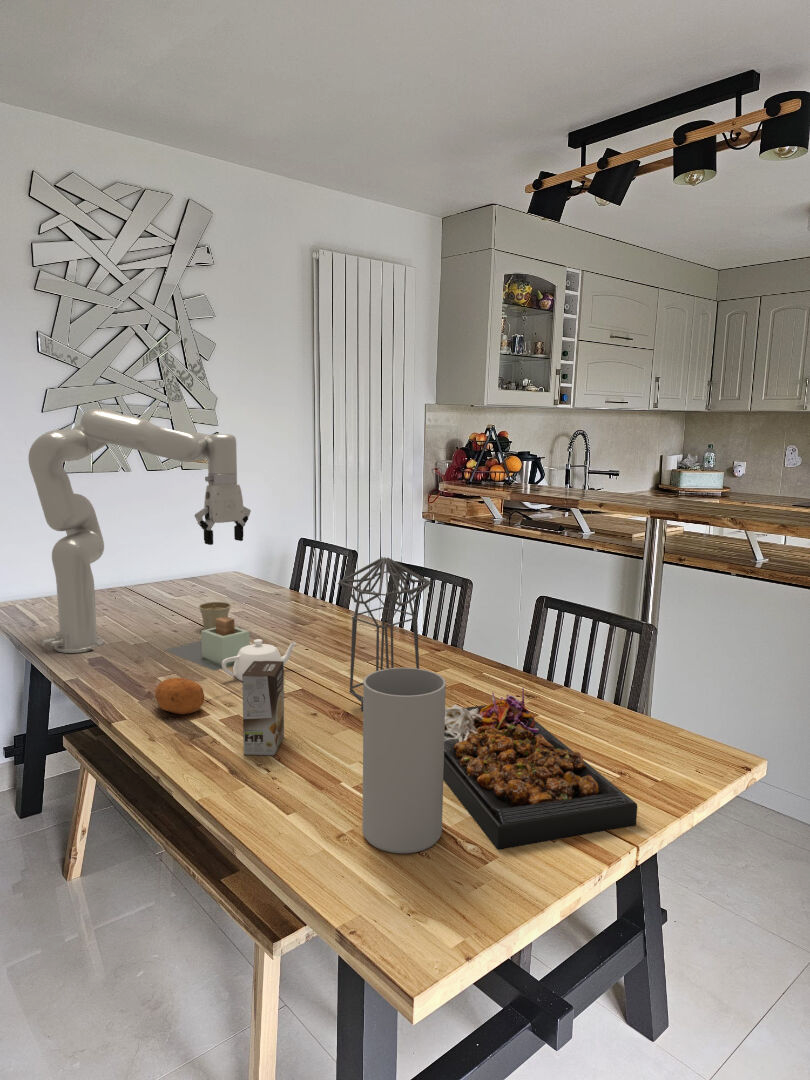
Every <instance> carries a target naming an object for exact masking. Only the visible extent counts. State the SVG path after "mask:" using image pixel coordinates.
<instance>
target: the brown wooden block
mask: <svg viewBox="0 0 810 1080" xmlns="http://www.w3.org/2000/svg"><path fill="white" fill-rule="evenodd" d="M235 627H236V626H235V619H234V618H231V617H229V616H228V617H221V618H217V619H216V634H219V635H222V636H226V635H230V634H234V633H235Z"/></svg>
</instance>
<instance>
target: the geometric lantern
mask: <svg viewBox="0 0 810 1080" xmlns="http://www.w3.org/2000/svg"><path fill="white" fill-rule="evenodd" d="M369 569H370V570H369ZM367 570H368V571H367ZM379 570H380V571H379ZM365 571H367V572H366V573H365V574H364V575H363V576H361V577H360V579H351V578H353V577H356V576H358V575H359V574H361V573H363V572H365ZM388 574H389V575H390V576H391V578H392V581H393V584H394V587H395V589H396V591H390V592H389V581H388V580H389V578H388V577H389V576H388ZM370 575H371V577H370ZM384 575H385V577H386V578H385V581H386V582H385V583H386V593H382V591H383V590H382V588H383V582H384V581H383V580H384ZM409 575H410V576H409ZM411 576H412V577H414V578H415V579H414V578H411ZM376 577H377V578H376ZM397 578H398V579H399V580H400V581H401V583H402V584H403V586H402V584H401V583H400V581H399V580H398V579H397ZM373 580H375V581H374V583H373V584H372V581H373ZM407 581H409V582H410V583H412V588H411V589H410V587H409V586H408V584H407V583H408V582H407ZM337 582H338V583H337V585H340V586H341V587H342V589H343V590H345V592H346V593H347V594H348V595H349V596H350V598H352V600H353V603H356V605H355V610H354V616H352V617H351V621H352V622H351V624H352V625H351V644H350V645H351V650H350V673H349V676H350V679H349V693H350V694H351V695H352V696H354V697H355V698H356V699H357V700H358V701H359V702H360V703H361V705H360V709H361V711H363V696H362V695H361V694H359V693H357V692H356V691H355V690H354V689H355V688H359V687H361V686H363V682H359V683H358V684H355V685H354V684H353V682H354V673H355V672H354V669H355V658H356V657H355V655H356V644H357V643H356V641H357V630H358V629H357V627H358V625H357V624H358V622H361V623H364V624H368V625H370V626H373V627H376V644H375V645H376V649H375V651H376V655H375V661H376V662H375V672H376V671H379V670H383V666H384V646H385V661H386V664H385V665H386V667H385V669H390V668H395V667H394V626H397V625H401V624H404V623H407V622H411V621H412V627H413V640H414V643H413V644H414V652H415V654H414V655H415V666H416V667H415V668H416V669H420V655H419V654H420V653H419V630H418V629H419V627H418V617H419V616H418V612H417V611H418V610H417V607H416V601H415V598H416V597H418V596H419V595H420V594H421V593H422V592H423V591H424V590H426V588H428V587H429V586H430V584H431V581H430V580H429V579H427V578H425V577H423V576H421V575H420V574H418V573H417V572H415V571H413V570H411V569H409V568H408V567H406V566H404V565H403V564H401V563H399V562H397V561H395V560H393V559H392V558H390V557H382V556H381V557H380V558H377V559H376V560H375V561H373V562H371V563H369V564H367V565H365V566H364V567H362V568H360V569H358V570H356V571H355V572H353V573H351V574H349V575H348V576H345V577H344V578H343V579H341V580H339V581H337ZM364 582H367V583H366V584H365V585H364V587H363V588H362V584H363V583H364ZM378 582H379V587H378V592H376V591H375V590H374V589H375V587H376V586H377V584H378ZM350 583H357V584H356V586H354V585H353V584H350ZM416 583H423V584H421V585H419V586H416V587H415V584H416ZM349 588H351V589H352V592H351V591H350V590H349ZM367 588H368V589H367ZM399 588H400V589H399ZM356 592H358V595H357V598H356V594H355V593H356ZM406 593H407V594H408V600H406V601H404V602H402V599H401V598H402V597H401V595H402V594H406ZM396 594H397V595H396ZM363 595H371V597H369V599H367V600H365V601H364V598H363ZM372 595H373V596H372ZM392 595H396V598H395V597H393V596H392ZM379 596H387V597H388V598H389V599H390V600H391V601H393V602H392V603H391V606H390V607H387V606H386V605H385V603H384V601H383V600H382V599H381V598H380V597H379ZM360 599H361V600H360ZM374 599H378V600H379V601H380V602H381V604H382V605H383V607H382V606H381V607H377V608H374V609H373V608H372V609H370V607H369V606H368V603H370V602H371V601H373V600H374ZM412 602H413V604H412ZM360 604H361V605H364V607H365V608H366V610H365V611H362V612H359V608H360ZM407 604H409V608H410V612H407V611H404V610H400V607H402V606H406V605H407ZM395 605H397V606H398V607H397V608H394V606H395ZM413 606H414V607H413ZM381 609H382V624H380V625H379V624H378V621H377V620H376V619H375V616H374V615H373V613H372V612H376V611H378V610H381ZM386 611H389V614H390V618H389V620H388V621H387V623H386V625H385V622H386V619H385V618H386ZM393 611H394V613H393ZM414 611H415V612H414ZM397 612H399V613H403V614H406V615H409V616H411V617H412V618H409V619H406V620H402V621H397V622H395V623H394V622H393V621H394V619H393V618H394V616H395V615H396V613H397ZM364 614H369V616H370V617H371V620H372V621H373V622H374V623H372V622H368V621H366V620H363V619H360V618H358V616H360V615H364ZM388 628H390V660H389V641H388V637H389V636H388ZM380 629H381V642H380ZM384 642H385V643H384ZM380 643H381V646H380ZM379 657H380V658H379ZM379 660H380V665H379ZM389 661H390V662H391V663H390V662H389ZM390 664H391V665H390ZM379 666H380V667H379ZM379 668H380V669H379Z"/></svg>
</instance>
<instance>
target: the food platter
mask: <svg viewBox="0 0 810 1080" xmlns="http://www.w3.org/2000/svg"><path fill="white" fill-rule="evenodd" d="M521 690H522V696H521V699H522V700H521V701H520V700H518V699H517V698H516V696H513V695H510V694H506V698H505V699H504V698H503V697H500V700H497V701H496V697H495V694H494V692H493V691H492V692H491V694H492V697H491V701H492V702H491V703H490V704H486V705H485V704H484V705H477V706H467V707H462V706H459V705H458V704H453V705H452V706H451V707H445V732H444V771H443V783H445V784H446V786H447V787H448V788H449V789H450V791H451V792H452V793H453V795H454V796H455V797H456V798H457V800H458V801H459V802H460V804H461V805H462V806H463V807H464V809H465V810H466V811H467V813H468V814H469V815H470V816H471V818H472V819H473V820H474V822H475V823H476V824H477V826H478V827H479V828H480V830H482V832H483V833H484V835H485V836H486V837H487V839H488V840H489V841H490V843H491V844H492V845H493V847H494V848H495V849H496V851H500V850H501V851H502V850H507V849H508V850H509V849H513V848H519V847H523V846H530V845H534V844H541V843H545V842H551V841H552V842H553V841H557V840H562V839H568V838H569V839H570V838H575V837H579V836H586V835H591V834H595V833H602V832H606V831H607V832H608V831H613V830H614V831H615V830H619V829H625V828H630V827H636V826H637V818H638V816H637V815H638V804H637V803H636V802H635V801H634V800H633V799H632V798H631V797H629V796H628V795H627V794H626V793H625V792H623V791H622V790H621V789H620V788H618V787H617V786H616V785H615V784H614V783H612V782H611V781H610V780H608V779H607V778H606V777H605V776H604V775H602V774H601V773H600V772H599V771H598V770H596V769H595V768H594V767H593V766H592V765H590V764H589V763H588V762H586V760H584V758H583V755H582V754H581V753H580V752H578V751H573V750H572V749H571V748H569V747H568V746H567V745H566V744H565V743H563V742H562V740H559V739H558V738H557V737H556V736H555V735H554V734H552V733H551V732H550V731H548V730H547V729H546V728H545V727H544V726H543V725H542V724H540V723H539V722H538V721H537V720H535V716H533V715H532V714H529V713H530V711H529V710H528V709H527V708H526V706H525V693H524V687H522V689H521Z"/></svg>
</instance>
